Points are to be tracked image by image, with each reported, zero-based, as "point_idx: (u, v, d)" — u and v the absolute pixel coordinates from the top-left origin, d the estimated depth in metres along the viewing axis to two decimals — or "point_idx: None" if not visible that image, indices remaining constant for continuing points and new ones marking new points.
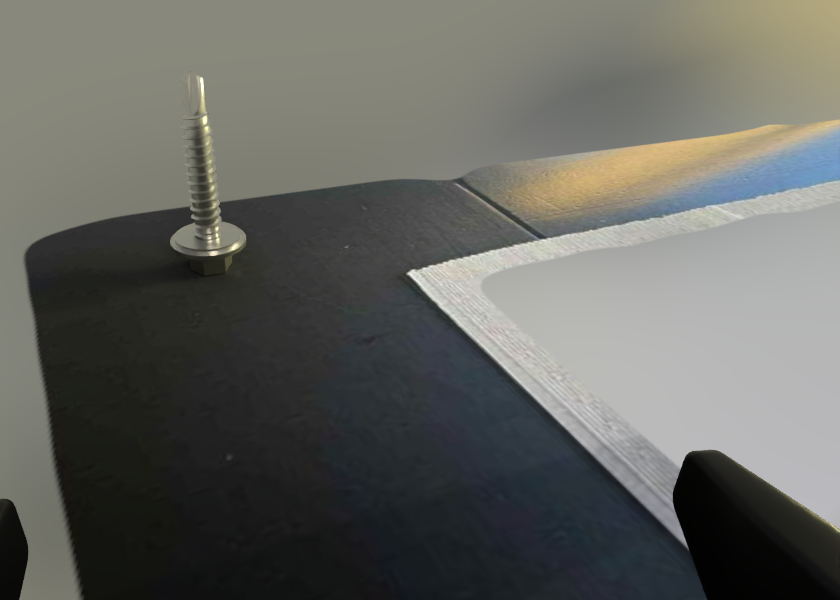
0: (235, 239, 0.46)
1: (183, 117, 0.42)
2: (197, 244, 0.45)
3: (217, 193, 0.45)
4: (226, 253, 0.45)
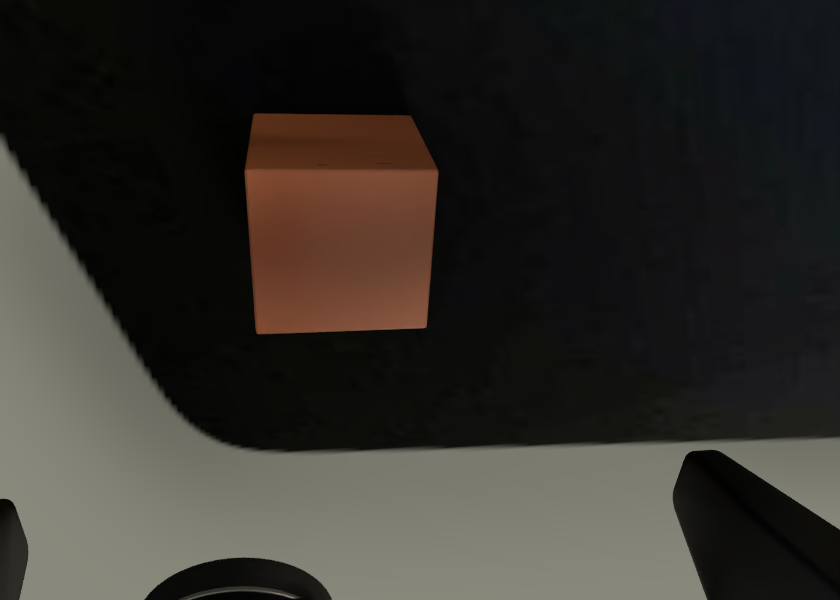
0: None
1: None
2: None
3: None
4: None
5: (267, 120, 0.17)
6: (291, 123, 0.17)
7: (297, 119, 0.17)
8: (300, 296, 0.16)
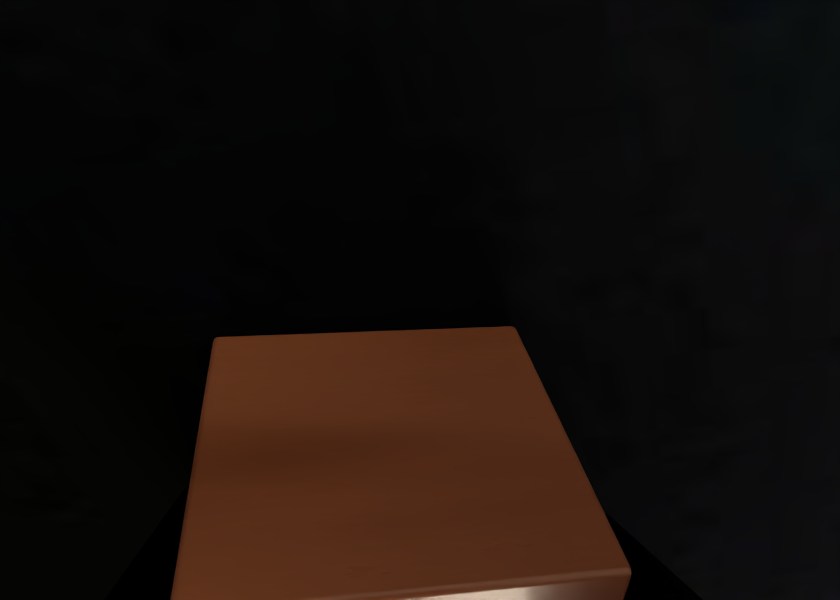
0: None
1: None
2: None
3: None
4: None
5: (239, 364, 0.08)
6: (289, 373, 0.08)
7: (300, 356, 0.09)
8: None
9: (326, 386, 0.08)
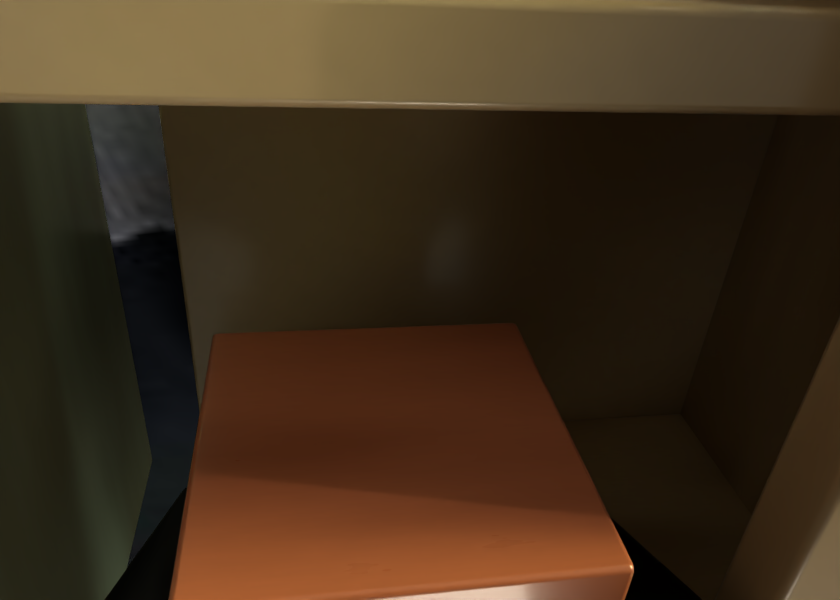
0: None
1: None
2: None
3: None
4: None
5: (238, 361, 0.08)
6: (288, 370, 0.08)
7: (299, 352, 0.09)
8: None
9: (326, 382, 0.08)
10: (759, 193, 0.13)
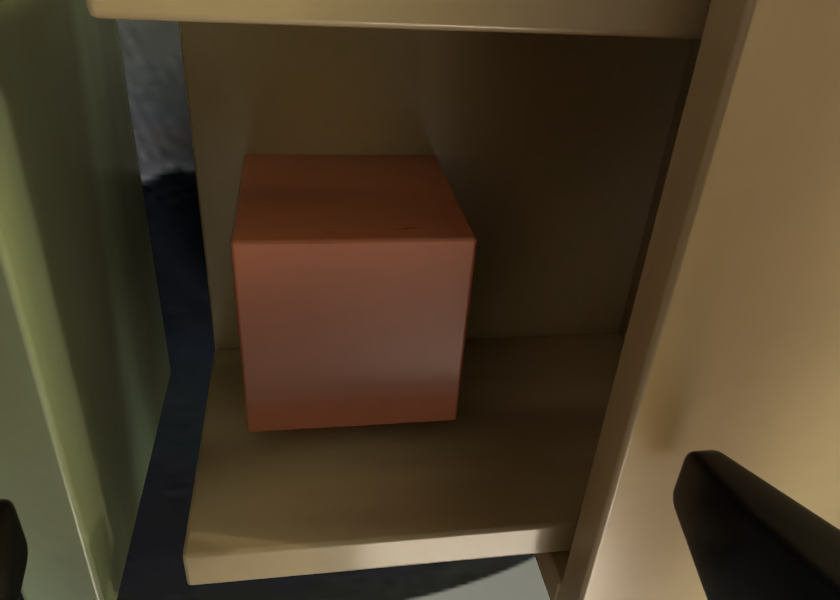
0: None
1: None
2: None
3: None
4: None
5: (261, 165, 0.14)
6: (291, 168, 0.14)
7: (298, 162, 0.14)
8: (302, 388, 0.13)
9: (314, 174, 0.14)
10: (671, 137, 0.15)
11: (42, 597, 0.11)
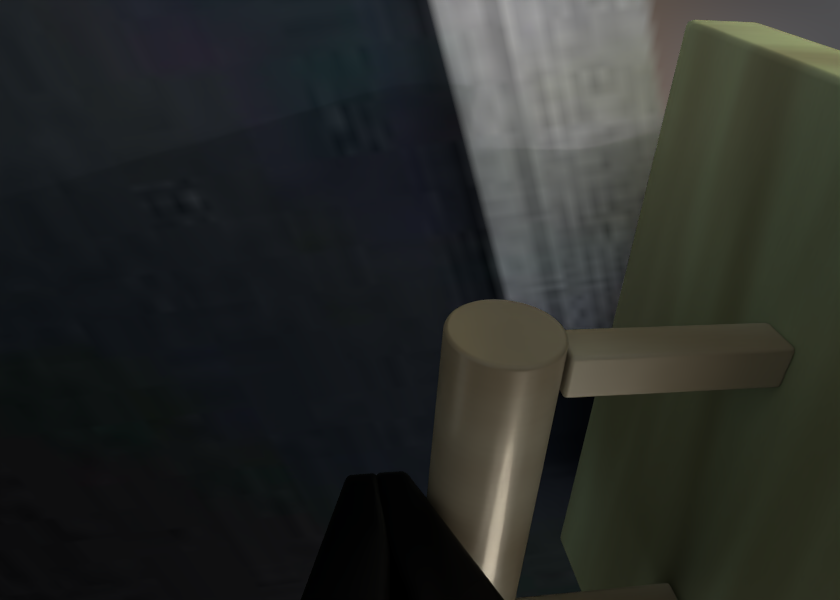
0: None
1: None
2: None
3: None
4: None
5: None
6: None
7: None
8: None
9: None
10: None
11: None
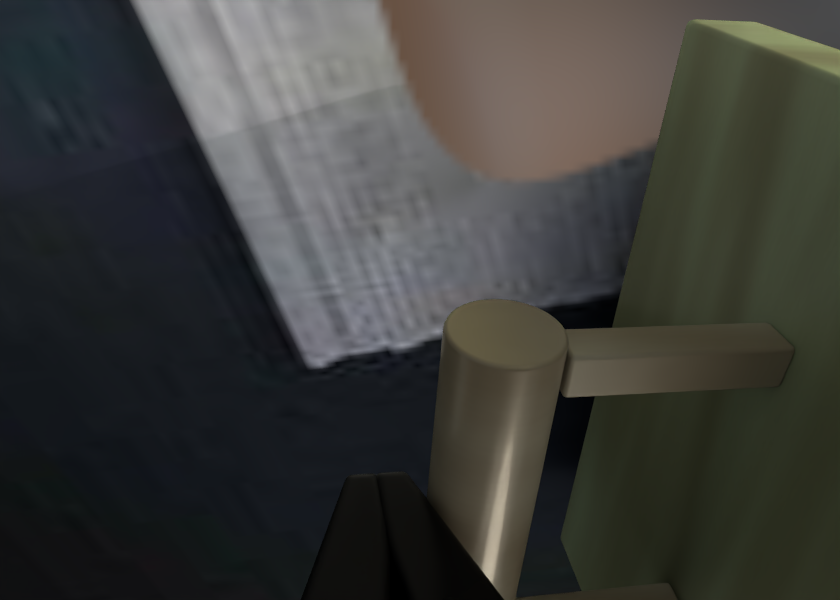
0: None
1: None
2: None
3: None
4: None
5: None
6: None
7: None
8: None
9: None
10: None
11: None
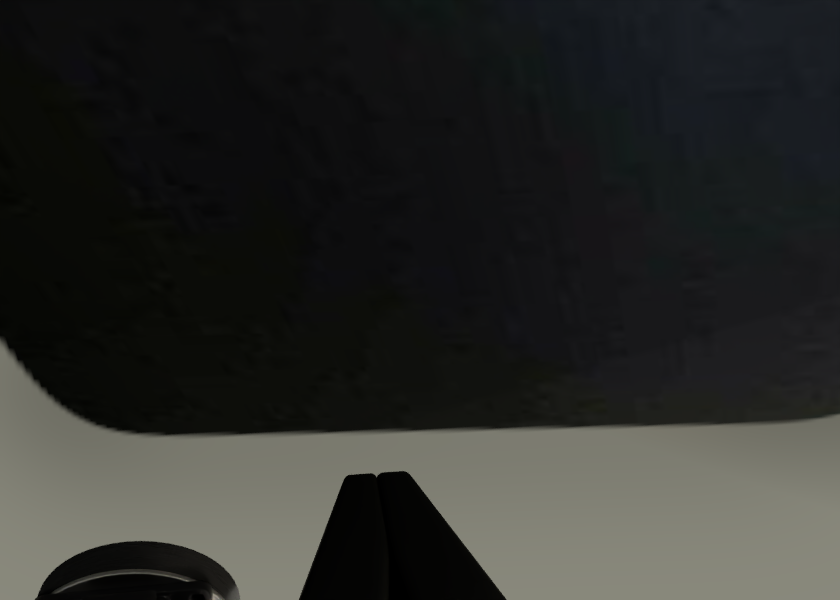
0: None
1: None
2: None
3: None
4: None
5: None
6: None
7: None
8: None
9: None
10: None
11: None
